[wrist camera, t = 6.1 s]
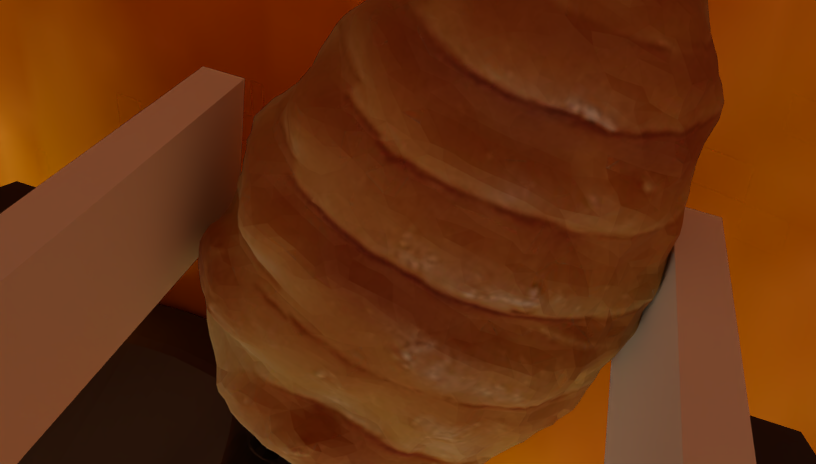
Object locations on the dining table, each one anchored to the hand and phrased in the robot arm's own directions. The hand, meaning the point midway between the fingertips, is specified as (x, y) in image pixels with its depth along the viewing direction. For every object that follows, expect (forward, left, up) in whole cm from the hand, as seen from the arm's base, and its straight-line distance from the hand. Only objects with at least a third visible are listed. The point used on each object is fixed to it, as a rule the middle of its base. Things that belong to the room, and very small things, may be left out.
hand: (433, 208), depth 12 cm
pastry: (0, 0, -1) cm, 1 cm away
